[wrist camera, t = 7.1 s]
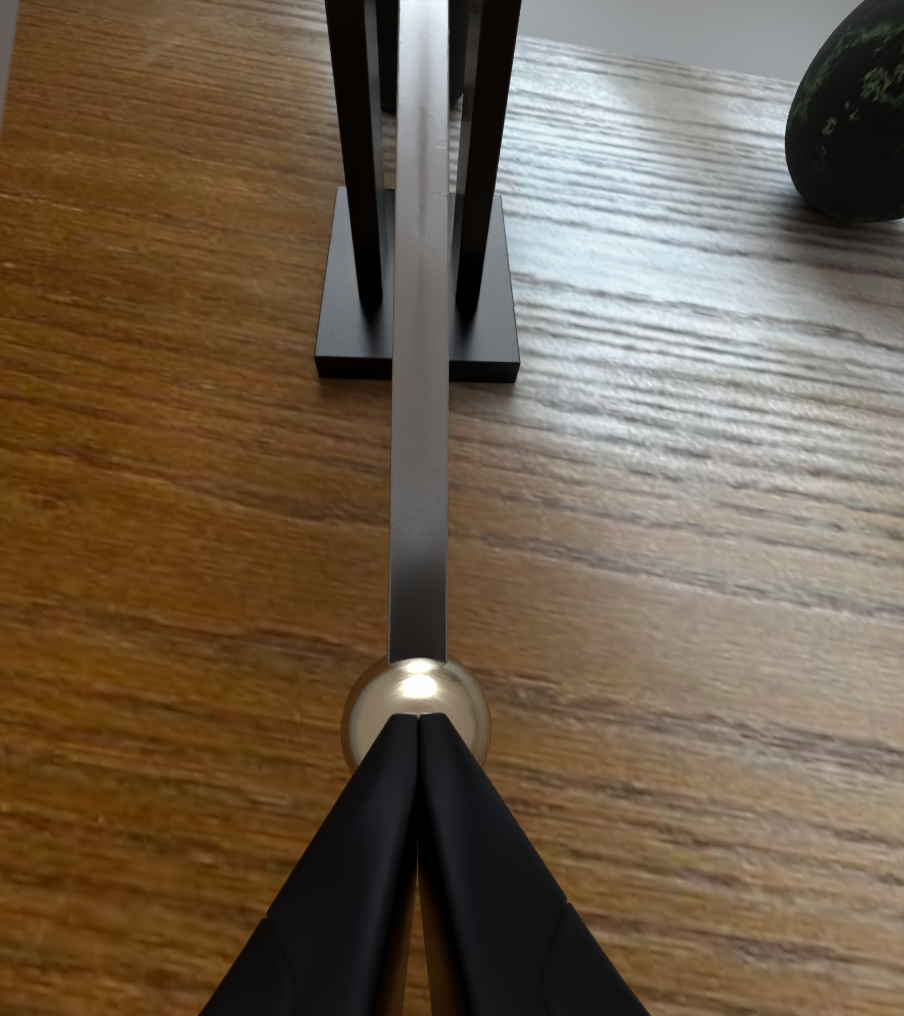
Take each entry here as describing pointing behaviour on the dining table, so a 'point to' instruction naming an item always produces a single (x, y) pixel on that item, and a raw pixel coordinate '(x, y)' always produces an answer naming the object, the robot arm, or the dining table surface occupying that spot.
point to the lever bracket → (371, 209)
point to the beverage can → (388, 50)
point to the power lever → (419, 415)
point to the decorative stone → (853, 119)
